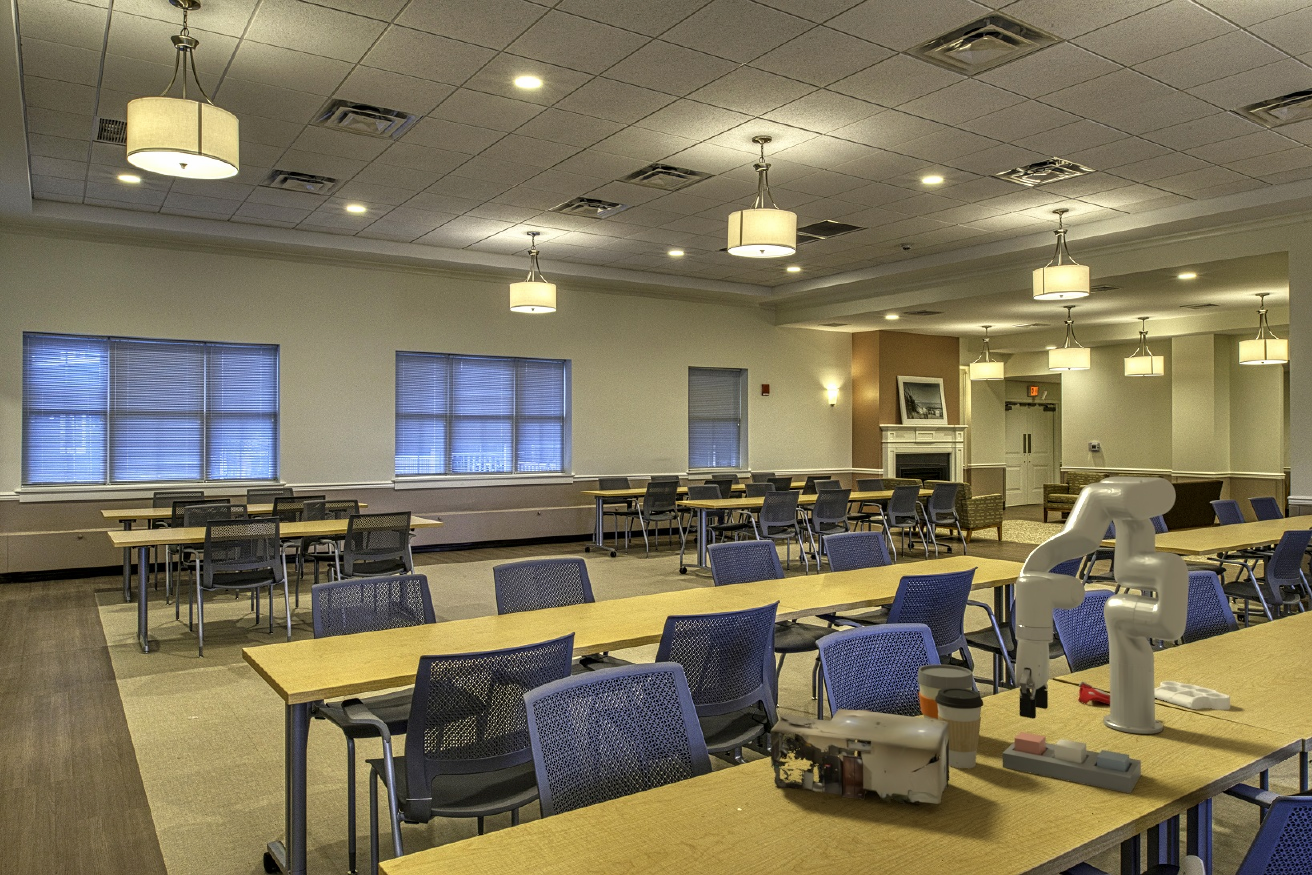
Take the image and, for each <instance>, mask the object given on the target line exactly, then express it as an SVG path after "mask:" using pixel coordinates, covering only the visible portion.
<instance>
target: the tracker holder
mask: <svg viewBox="0 0 1312 875" xmlns="http://www.w3.org/2000/svg"><path fill="white" fill-rule="evenodd" d="M1078 687H1079V691H1078V693H1079V694H1078V696H1079V697H1078V699H1077V701H1078V702H1080V703H1082V702H1083V703H1082V704H1084V703H1085V705H1087V703H1089V702H1091V701H1097V702H1101V703H1104V704H1107V705H1110V693H1108V692H1105V691H1103V690H1101V689H1098V688H1095V687H1093V686H1092V685H1091V684H1089V683H1087V682H1084V681H1081V682H1080V683H1079V685H1078Z"/></svg>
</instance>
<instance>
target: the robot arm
mask: <svg viewBox="0 0 1312 875" xmlns="http://www.w3.org/2000/svg"><path fill="white" fill-rule="evenodd" d="M1176 497H1177V496H1176V490H1175V486H1173V484H1172V483H1171V481H1169V480H1167V479H1166V478H1163V477H1155V476H1153V477H1151V476H1150V477H1147V476H1110V477H1106V478H1103V479H1101V480H1100V481H1099V482H1091V483H1089V484H1087V485H1085V486H1084V487H1083V488H1082V489H1081V491H1079V495H1078V496H1077V498H1076V501H1075V503H1074V505H1073V506H1072V509H1071V511H1070V513H1069V515H1068V516H1067V519H1066V521H1065V523H1064V525H1063V527H1062V528H1061V530H1060V531H1059V532H1058V533H1056V534H1054V535H1053V536H1051V537H1049V538H1048V539H1046V540H1045V541H1044V542H1042V543H1041V544H1040V545H1038V546H1037V547H1036V548H1034V549H1033V551H1032V552H1031V553H1029V555H1028V556H1027V558H1026V560H1025V562H1024V564H1023V566H1022V568H1021V570H1020V573H1019V574H1018V577H1017V579H1016V581H1015V639H1016V640H1017V648H1016V657H1015V658H1016V659H1015V660H1016V661H1015V675H1014V676H1015V677H1014V684H1015V686H1017V687H1020V688H1019V716H1020V717H1022V718H1027V719H1028V718H1029V719H1033V720H1034V719H1036V717H1037V708H1038V709H1044V710H1046V709H1048V708H1049V707H1048V705H1049V704H1048V702H1049V699H1048V697H1049V695H1048V694H1049V693H1048V692H1049V691H1048V687H1049V686H1048V682H1049V680H1050V647H1049V646H1050V645H1049V644H1050V643H1053V642H1054V626H1053V625H1054V609H1057V610H1058V609H1060V610H1074V609H1076V608H1078V607H1079V606H1080V605H1082V603H1083V602H1084V600H1085V597H1086V588H1085V586H1084V584H1083V583H1082V582H1081V580H1080V579H1078V578H1076V577H1074V576H1072V575H1068V574H1062V573H1061V574H1060V573H1054V572H1050V570H1051V571H1052V569H1053V568H1054V567H1056V566H1057V565H1059V564H1061V563H1064V562H1067V561H1069V560H1073V559H1076V558H1080V557H1084V556H1086V555H1090V554H1092V553H1094V552H1096V551H1097V550H1099V548H1100V546H1101V544H1102V542H1103V540H1104V538H1105V535H1106V533H1107V531H1108V529H1109V526H1110V525H1111V523H1112V522H1113V525H1114V529H1115V544H1114V559H1113V576H1114V579H1115V582H1116V583H1117V584H1118V585H1119V586H1122V587H1124V588H1127V589H1134V590H1141V591H1146V592H1147V591H1148V592H1157V595H1158V597H1151V596H1148V595H1147V596H1146V595H1140V594H1134V593H1133V594H1131V593H1117V594H1113V595H1111V596H1109V597H1108V598H1107V600H1106V601H1105V602H1104V603H1105V604H1104V606H1103V617H1104V621H1105V622H1104V623H1105V626H1106V631H1107V632H1106V633H1107V638H1108V652H1109V654H1108V655H1109V657H1108V658H1109V661H1108V662H1109V666H1108V668H1109V695H1110V704H1109V709H1110V710H1109V711H1110V712H1109V713H1110V714H1106V715H1105V716H1103V719H1102V722H1103V724H1104V725H1105V726H1107V727H1108V728H1111V729H1113V730H1117V731H1119V732H1120V731H1121V732H1124V733H1130V734H1138V735H1139V734H1141V735H1143V734H1144V735H1145V734H1146V735H1148V734H1151V735H1152V734H1157V733H1161V732H1162V731H1163V729H1164V728H1163V727H1164V726H1163V723H1161V721H1159V720H1156V711H1155V710H1156V703H1155V702H1156V701H1155V700H1156V699H1155V688H1156V686H1155V655H1154V651H1153V648H1152V646H1151V645H1150V643H1149V641H1148V639H1147V638H1151V639H1154V640H1156V639H1157V640H1160V641H1161V640H1162V641H1166V642H1167V641H1169V642H1174V641H1177V640H1179V639H1180V638H1182V636H1183V635H1184V634H1185V631H1186V627H1187V618H1188V603H1189V602H1188V600H1189V584H1190V573H1189V569H1188V566H1187V563H1186V561H1185V560H1184V559H1183V557H1181V556H1180V555H1178V554H1176V553H1172V552H1169V551H1166V552H1165V551H1158V550H1157V551H1156V529H1155V525H1154V524H1153V522H1152V520H1151V518H1154V517H1158V516H1162V515H1164V514H1166V513H1169V511H1171V509H1172V508H1173V506H1174V505H1175V502H1176Z"/></svg>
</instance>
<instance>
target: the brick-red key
mask: <svg viewBox="0 0 1312 875" xmlns="http://www.w3.org/2000/svg"><path fill="white" fill-rule="evenodd" d="M1046 741H1047V739H1046V735H1040V734H1035V733H1029V732H1024V731H1020V732H1019V733H1018V734H1017V735H1016V736H1015V737H1014V742H1015V751H1019V752H1025V753H1030V754H1035V755H1040V756H1042V755H1043V753H1044V752H1045V751H1046V743H1047V742H1046Z"/></svg>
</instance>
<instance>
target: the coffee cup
mask: <svg viewBox="0 0 1312 875" xmlns="http://www.w3.org/2000/svg"><path fill="white" fill-rule="evenodd" d="M935 702H936V703H937V705H938V720H941V721H945V722H948V723H949V767H951V766H952V767H951V768H954V767H955V768H954V769H960V768H968V769H973V768H975V767H976V762H977V753H978V752H977V751H978V748H979V741H980V740H979V739H980V729H981V720H982V719H981V718H982V716H981V714H982V713H981V711H982V707H983V706H984V701H983V699H982V698H981V694H980V692H978V691H976V690H973V689H971V690H969V689H964V688H944V689H940V690H939V691H938V694H937V696H936V698H935Z"/></svg>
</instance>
